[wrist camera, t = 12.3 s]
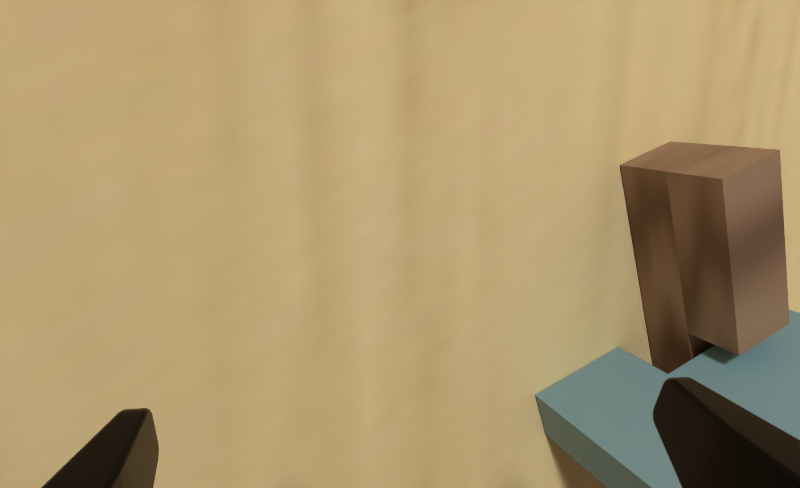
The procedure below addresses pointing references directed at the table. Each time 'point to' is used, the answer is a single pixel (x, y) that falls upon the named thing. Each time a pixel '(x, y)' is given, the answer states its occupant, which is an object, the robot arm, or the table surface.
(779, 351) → the teal slotted plate
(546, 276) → the table surface
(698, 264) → the walnut slotted rail
